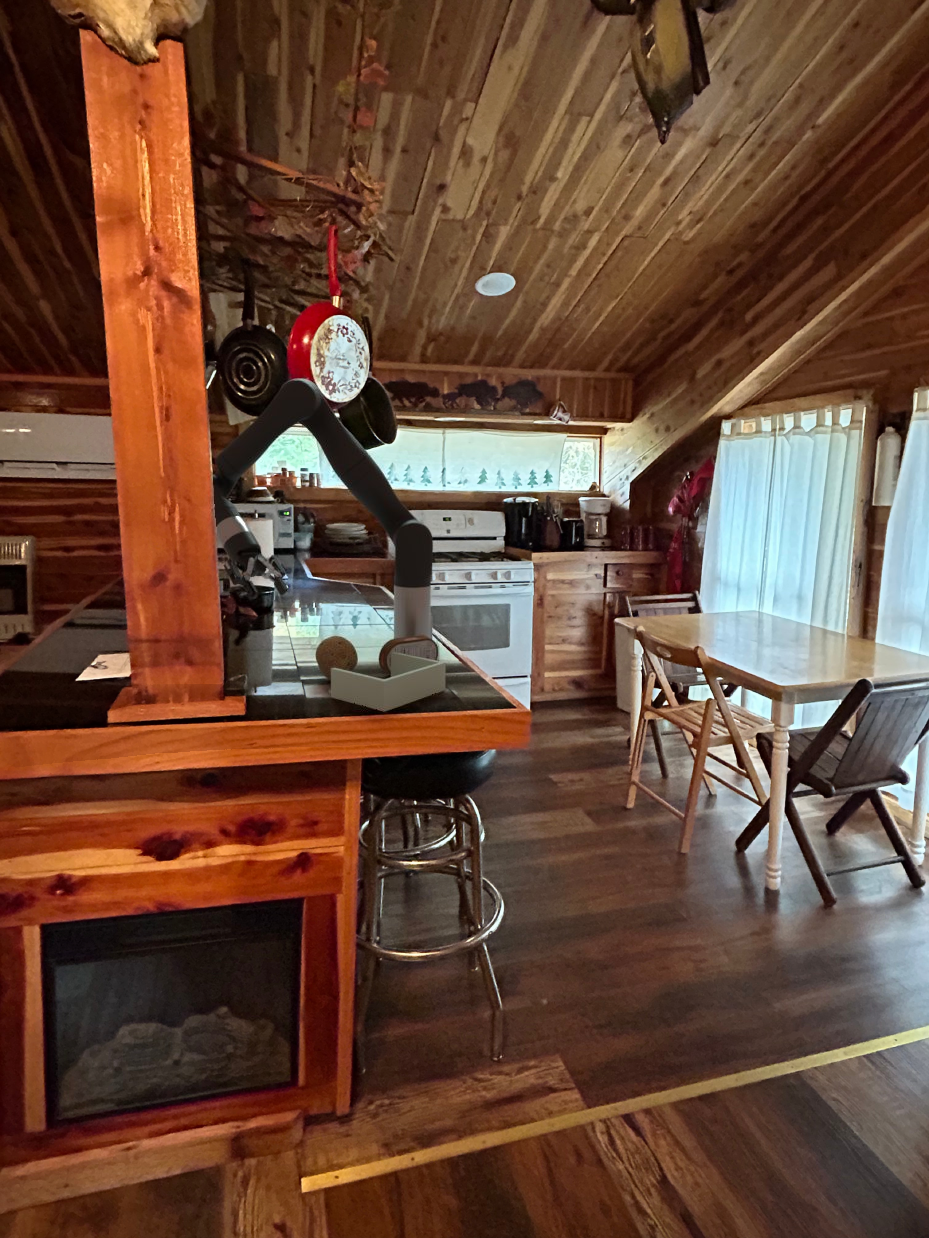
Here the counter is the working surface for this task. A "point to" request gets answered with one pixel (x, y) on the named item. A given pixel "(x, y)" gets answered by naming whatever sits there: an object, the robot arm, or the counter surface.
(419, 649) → the tin
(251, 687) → the counter surface
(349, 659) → the natural sponge
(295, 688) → the counter surface
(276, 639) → the counter surface
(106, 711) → the counter surface
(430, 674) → the box
